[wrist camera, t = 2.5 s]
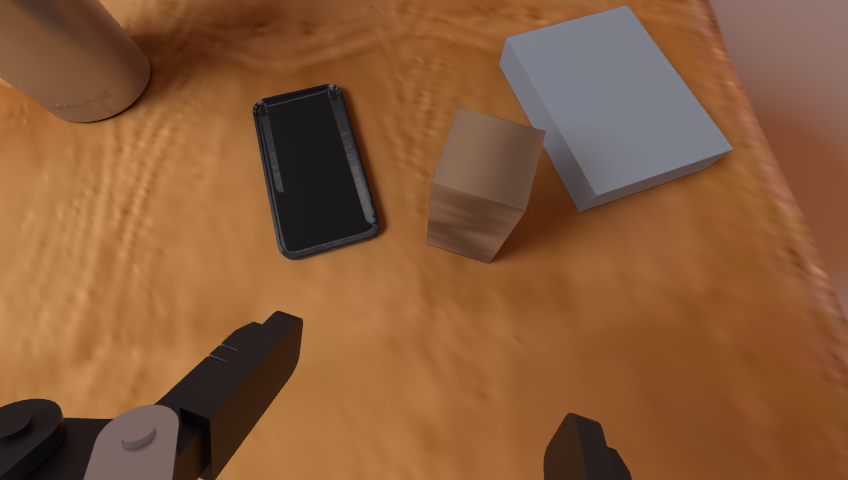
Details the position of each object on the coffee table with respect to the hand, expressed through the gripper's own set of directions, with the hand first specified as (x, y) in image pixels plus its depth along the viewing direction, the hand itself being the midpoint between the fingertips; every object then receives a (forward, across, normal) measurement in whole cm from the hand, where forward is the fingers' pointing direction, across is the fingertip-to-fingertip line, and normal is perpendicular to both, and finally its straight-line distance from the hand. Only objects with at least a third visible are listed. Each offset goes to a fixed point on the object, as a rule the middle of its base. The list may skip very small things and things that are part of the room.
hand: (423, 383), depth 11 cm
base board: (+29, -8, -7) cm, 31 cm away
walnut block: (+19, 0, +2) cm, 19 cm away
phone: (+20, +13, +2) cm, 24 cm away
